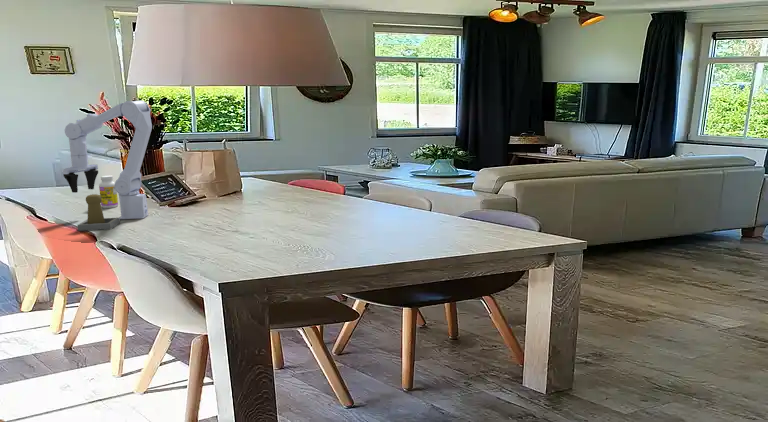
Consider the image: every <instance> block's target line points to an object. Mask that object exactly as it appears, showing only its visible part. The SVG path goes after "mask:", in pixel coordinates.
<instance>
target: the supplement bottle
mask: <svg viewBox="0 0 768 422" xmlns="http://www.w3.org/2000/svg"><path fill="white" fill-rule="evenodd" d="M100 180H101V182H100V183H99V184H98V188H99V195H100V196H101V198H102V201H101V203H100V204H101V208H102V209H111V208H117V207H118V206H119V200H118V199H119V196H118V193H117V192H116V190H115V187H114V185H115V182H116V181H114V176H113V175H102V176H100Z"/></svg>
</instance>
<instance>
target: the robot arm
mask: <svg viewBox="0 0 768 422" xmlns="http://www.w3.org/2000/svg"><path fill="white" fill-rule="evenodd" d="M151 111H152V109H151V108H150V107H149V105H148V104H147V102H145V101H144V100H141V99H139V100H127V101H124V102H121V103H119V104H116V105H114V106H113V107H110V108H109V109H107V110H105V111H103V112H101V113H100V114H96V113H88V114H86V116H85V117H84V118H82V119H77V120H75V121H76V122H69V123H68V124H67V125H65V128H64V134H65V136H66V137H67V138H68V143H69V150H70V151H69V153H70V160H71V161H70V162H71V167H66V168H62V174H63V178H64V179H65V180H66V182H67V183H68V185H69V187H70V190H71V192H72V193H78V190H79V189H78V187H79V186H78V179H79V173H81V172H82V173H84V175H85V179H86V183H87V189H88V190H94V189H95V183H96V179H97V176H98V174H99V170H98V169H99V166H98V164H96V163H95V164H89V160H88V158H89V157H88V150H87V136H88V135H89V134H91V133H93V132H95V131H97V130H99V129H102V128H103V124H104V123H106V122H108V121H110V120H112V119H116V118H118V117H124V118H125V119H126V120H127V121H129V122H130V123H131V124H132V125H133V127H134V128H135V131H134V135H133V137H132V141H131V144H130V149H129V152H128V155H127V158H126V163H125V165H124V169H123V170H122V171H121V172H120V174H119V175H118V176H119V177H118V179H116V181H114V182H115V185H114V187H115V190H116V192H117V194H118V199H119V200H118V201H119V208H120V216H119V217H118V218H119V220H135V219H136V220H137V219H138V220H139V219H144V218H145V219H146V217H147V216H149V208H148V199H147V195H146V194H145V193H140V189H141V188H142V183H143V182H142V175H143V174H142V173H141V169H142V168H141V167H142V164H143V161H144V158H145V154H146V150H147V148H148V147H147V146H148V143H149V140H150V136H151V132H152V129H153V124H152V119H151ZM76 173H78V174H76Z"/></svg>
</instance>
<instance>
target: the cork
mask: <svg viewBox="0 0 768 422" xmlns="http://www.w3.org/2000/svg"><path fill="white" fill-rule="evenodd" d="M101 201H102V198H101V196H100V194H97V193H96V194H93V193H92V194H89V195H87V196H86V197H85V202H86V204H87V219H88V221H87V224H98V223H105V220H104V218H105V217H104V213H103V208H102V207H101Z"/></svg>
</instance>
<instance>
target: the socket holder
mask: <svg viewBox="0 0 768 422" xmlns="http://www.w3.org/2000/svg"><path fill="white" fill-rule="evenodd" d="M104 220H105V223H98V224H87V221H88V218H87V219H85V220H84V221H82V222H80V223H79V224H77V231H78V232H79V231H81V232H82V231H99V230H98V229H104V230H112V229H113V228H115V227H116V226H117V225H118V224H120V223H121V221H120V219H119V217H104ZM111 228H112V229H111Z"/></svg>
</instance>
